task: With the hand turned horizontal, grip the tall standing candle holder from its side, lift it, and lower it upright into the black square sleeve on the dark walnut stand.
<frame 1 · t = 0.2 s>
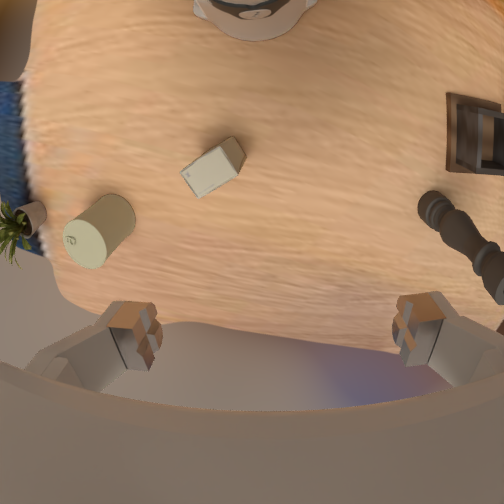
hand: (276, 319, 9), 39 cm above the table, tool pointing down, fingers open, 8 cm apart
house plant: (43, 212, 52), on the table
skincare box: (224, 155, 45), on the table
candle stand: (473, 134, 38), on the table
candle holder: (431, 206, 46), on the table
can: (115, 216, 52), on the table
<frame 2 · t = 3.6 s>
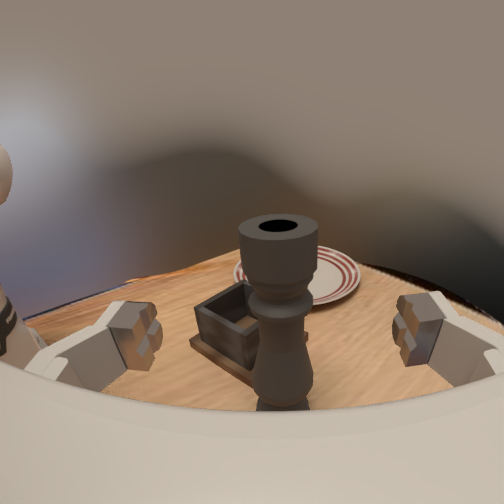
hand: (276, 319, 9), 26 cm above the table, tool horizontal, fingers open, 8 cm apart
dinner plate: (297, 281, 64), on the table
candle stand: (248, 344, 46), on the table
candle holder: (282, 426, 31), on the table
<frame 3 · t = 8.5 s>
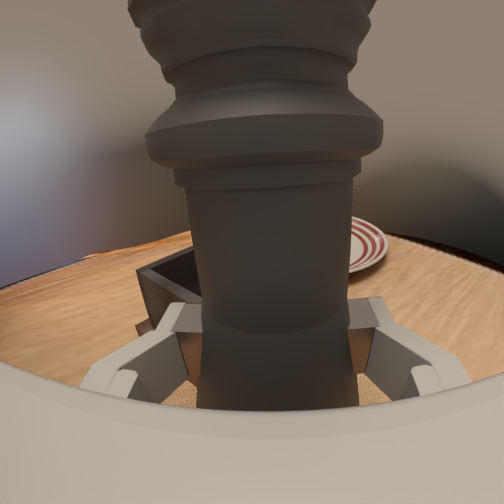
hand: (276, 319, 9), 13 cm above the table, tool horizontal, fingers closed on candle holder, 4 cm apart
dinner plate: (301, 252, 47), on the table
candle stand: (226, 335, 28), on the table
candle holder: (279, 486, 14), on the table, touching gripper
when the fingers open (16 cm above the table, at t = 14.9 s): candle holder moves 2 cm, resting on candle stand.
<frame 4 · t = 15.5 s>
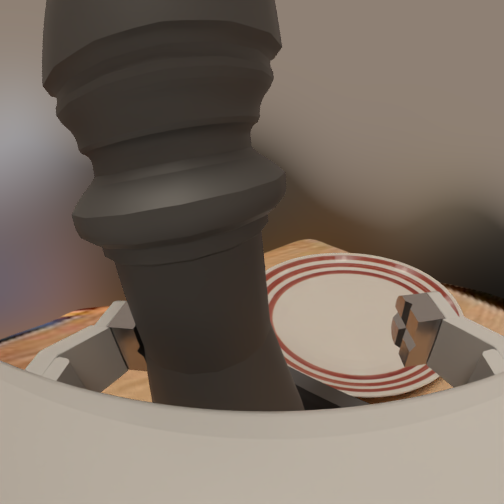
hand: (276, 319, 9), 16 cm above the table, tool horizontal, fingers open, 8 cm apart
dinner plate: (354, 323, 33), on the table
candle stand: (279, 496, 15), on the table
candle holder: (255, 493, 14), point 1 cm above the table, touching candle stand, gripper
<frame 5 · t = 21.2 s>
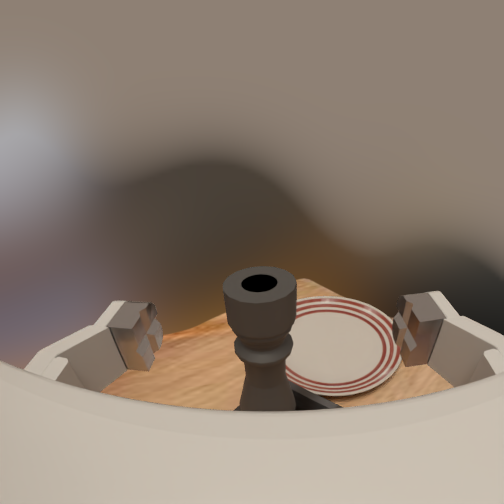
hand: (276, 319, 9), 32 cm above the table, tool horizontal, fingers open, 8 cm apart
dinner plate: (330, 349, 51), on the table
candle stand: (282, 447, 33), on the table
candle holder: (270, 444, 32), point 1 cm above the table, touching candle stand
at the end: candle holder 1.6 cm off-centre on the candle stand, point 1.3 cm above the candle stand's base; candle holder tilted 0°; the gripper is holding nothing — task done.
